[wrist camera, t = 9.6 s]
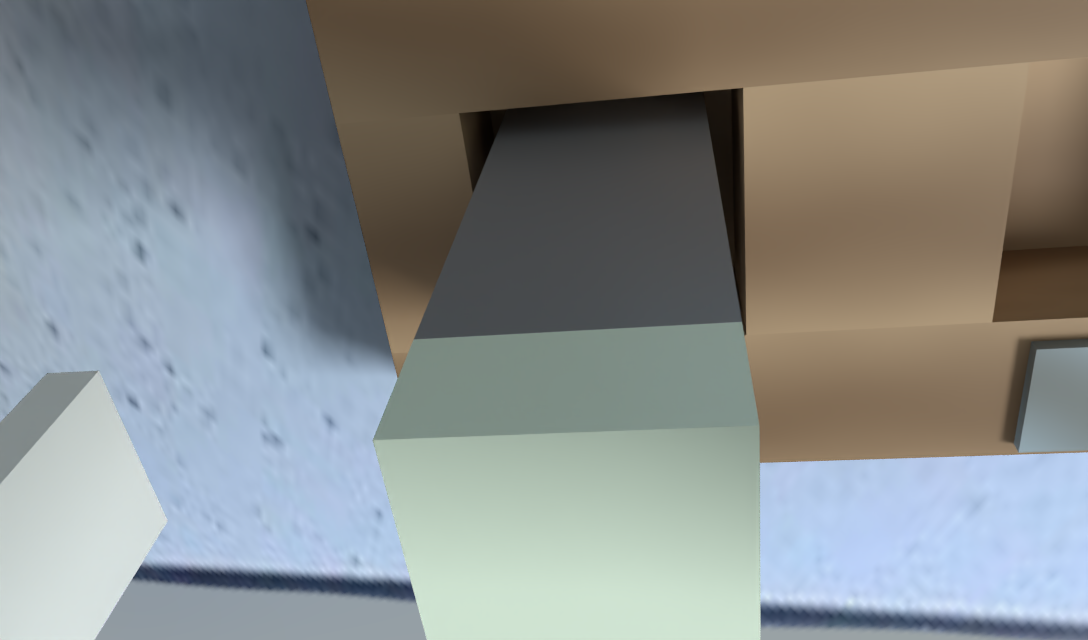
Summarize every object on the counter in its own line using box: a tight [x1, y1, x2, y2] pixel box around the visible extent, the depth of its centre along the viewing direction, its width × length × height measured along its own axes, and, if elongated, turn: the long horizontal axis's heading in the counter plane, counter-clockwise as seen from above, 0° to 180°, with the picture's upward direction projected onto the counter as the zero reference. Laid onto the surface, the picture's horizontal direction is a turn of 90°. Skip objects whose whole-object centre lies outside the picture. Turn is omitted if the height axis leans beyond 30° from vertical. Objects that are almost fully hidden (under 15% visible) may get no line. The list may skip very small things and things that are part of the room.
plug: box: [373, 91, 760, 640], centre depth 16 cm, size 4×4×12 cm
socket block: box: [306, 0, 1088, 463], centre depth 19 cm, size 12×20×4 cm, turn 97°
